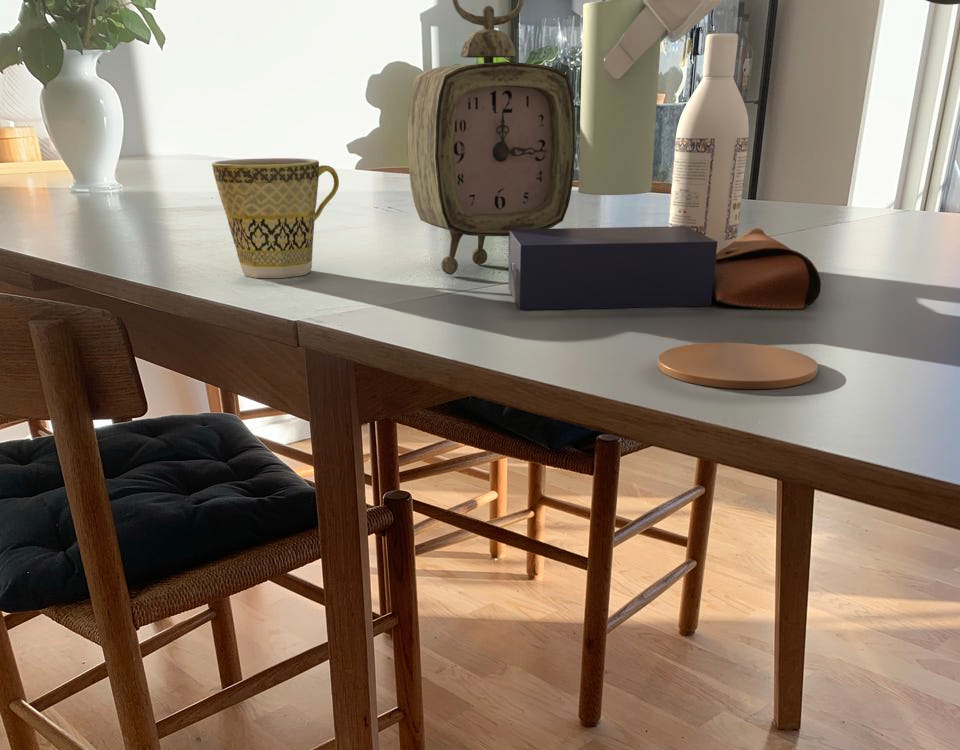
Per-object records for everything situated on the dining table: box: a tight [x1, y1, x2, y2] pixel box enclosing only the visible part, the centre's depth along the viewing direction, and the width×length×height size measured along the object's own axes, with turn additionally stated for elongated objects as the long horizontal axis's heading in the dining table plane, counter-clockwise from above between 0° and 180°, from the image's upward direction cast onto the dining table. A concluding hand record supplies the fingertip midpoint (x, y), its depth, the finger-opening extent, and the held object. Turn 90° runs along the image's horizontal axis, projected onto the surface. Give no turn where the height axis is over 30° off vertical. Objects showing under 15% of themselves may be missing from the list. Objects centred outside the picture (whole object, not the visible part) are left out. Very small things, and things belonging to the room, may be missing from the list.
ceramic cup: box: [211, 157, 340, 279], centre depth 93 cm, size 13×10×10 cm
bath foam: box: [667, 32, 750, 252], centre depth 93 cm, size 7×7×20 cm
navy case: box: [507, 226, 718, 311], centre depth 81 cm, size 16×10×5 cm, turn 94°
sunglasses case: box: [712, 227, 822, 310], centre depth 84 cm, size 18×7×7 cm
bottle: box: [577, 0, 662, 196], centre depth 74 cm, size 6×6×15 cm
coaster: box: [657, 342, 819, 390], centre depth 61 cm, size 10×10×1 cm
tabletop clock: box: [406, 0, 577, 275], centre depth 90 cm, size 14×9×25 cm, turn 114°
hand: (611, 73), depth 74 cm, fingers closed on bottle, 6 cm apart
